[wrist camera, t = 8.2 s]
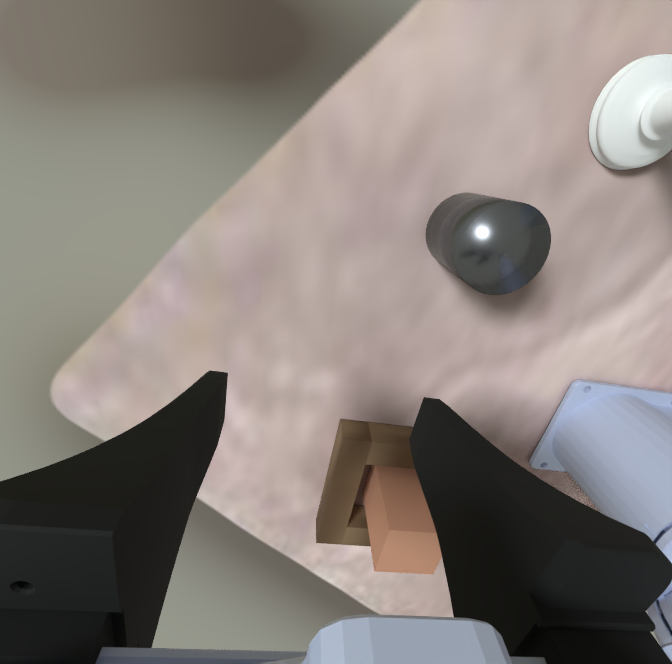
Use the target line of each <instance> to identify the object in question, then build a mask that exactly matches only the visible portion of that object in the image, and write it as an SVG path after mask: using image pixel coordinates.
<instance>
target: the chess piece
mask: <svg viewBox="0 0 672 664" xmlns="http://www.w3.org/2000/svg"><path fill="white" fill-rule="evenodd" d="M589 142H590V146H591V149H592V152H593V154H594V155H595V157H596V158H597V160H598V161H599V162H600V163H602V164H603V165H605V166H606V167H609V168H612V169H616V170H627V169H632V168H639V167H643V166H646V165H649V164H651V163H653V162H655V161H657V160H658V159H660V158H661V157H663V156H664V155H666V154H667V153H668V152H669V151H670V150H671V149H672V54H661V55H652V56H646V57H643V58H640V59H638V60H635V61H633V62H631V63H630V64H628V65H627V66H625V67H624V68H622V69H621V70H620V71H619V72H618V73H617V74H615V75H614V76H613V77H612V79H611V80H610V81H609V82H608V83H607V85H606V86H605V87H604V89H603V90H602V92H601V93H600V95H599V97H598V99H597V101H596V103H595V105H594V108H593V110H592V114H591V117H590V122H589Z"/></svg>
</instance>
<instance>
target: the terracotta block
mask: <svg viewBox="0 0 672 664" xmlns="http://www.w3.org/2000/svg"><path fill="white" fill-rule="evenodd" d="M363 499H364V505H365V512H366V519H367V525H368V532H369V538H370V545H371V551H372V558H373V565H374V571H380V572H399V573H418V574H434V572H435V570H436V567H437V565H438V563H439V561H440V559H441V557H442V554H441V550H440V545H439V541H438V537H437V533H436V530H435V526H434V523H433V520H432V517H431V514H430V511H429V508H428V505H427V502H426V499H425V496H424V493H423V491H422V488H421V485H420V482H419V479H418V476H417V473H416V470H415V469H407V468H396V467H386V466H376V465H371V468H370V471H369V474H368V478H367V481H366V484H365V488H364V491H363Z"/></svg>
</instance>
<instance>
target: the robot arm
mask: <svg viewBox="0 0 672 664" xmlns="http://www.w3.org/2000/svg"><path fill="white" fill-rule="evenodd" d="M227 376H228V373H225V372H217V371H209V372H207V373H206V374H205V375H203V376H202V377H201V378H200V379H199V380H198V381H197V382H195V383H194V384H193V385H192V386H191V387H189V388H188V389H187V390H186V391H185V392H183V393H182V394H181V395H180V396H178V397H177V398H176V399H174V400H173V401H172V402H171V403H169V404H168V405H166V406H165V407H164V408H162V409H161V410H159V411H158V412H156V413H155V414H154V415H152V416H151V417H149V418H148V419H146V420H145V421H143V422H141V423H140V424H138V425H136V426H135V427H133V428H131V429H129V430H128V431H126V432H124V433H122V434H120V435H118V436H116V437H114V438H112V439H110V440H108V441H106V442H104V443H102V444H100V445H98V446H96V447H94V448H91V449H89V450H87V451H85V452H82V453H80V454H78V455H75V456H73V457H70V458H68V459H65V460H62V461H60V462H57V463H55V464H52V465H49V466H47V467H44V468H41V469H38V470H35V471H32V472H29V473H26V474H23V475H20V476H16V477H13V478H10V479H7V480H4V481H1V482H0V664H672V392H665V391H658V390H651V389H644V388H637V387H629V386H622V385H615V384H608V383H601V382H594V381H587V380H576V381H574V382H573V383H572V384H571V386H570V387H569V389H568V391H567V393H566V395H565V397H564V398H563V400H562V402H561V404H560V406H559V407H558V409H557V411H556V413H555V415H554V417H553V418H552V420H551V422H550V424H549V426H548V427H547V429H546V431H545V433H544V435H543V437H542V438H541V440H540V442H539V444H538V446H537V448H536V449H535V451H534V453H533V455H532V457H531V458H530V460H529V464H530V466H531V467H532V468H534V469H543V470H553V471H563V472H568V474H569V475H570V476H571V477H572V478H573V480H574V481H575V482H576V483H577V484H578V486H579V487H580V488H581V489H582V491H583V492H584V493H585V494H586V495H587V497H588V498H589V499H590V500H591V501H592V503H593V504H594V505H595V506H596V508H597V509H598V510H599V511H600V512H601V513H600V512H598V511H596V510H594V509H592V508H590V507H588V506H586V505H584V504H582V503H580V502H578V501H577V500H575V499H573V498H571V497H569V496H567V495H566V494H564V493H562V492H561V491H559V490H557V489H556V488H554V487H552V486H551V485H549V484H547V483H546V482H544V481H542V480H541V479H539V478H538V477H536V476H534V475H533V474H531V473H530V472H529V471H527V470H526V469H524V468H523V467H521V466H520V465H518V464H517V463H516V462H514V461H513V460H512V459H510V458H509V457H507V456H506V455H505V454H504V453H502V452H501V451H500V450H499V449H497V448H496V447H495V446H494V445H492V444H491V443H490V442H489V441H487V440H486V439H485V438H484V437H483V436H481V435H480V434H479V433H478V432H477V431H476V430H475V429H473V428H472V427H471V426H470V425H469V424H468V423H467V422H465V421H464V420H463V419H462V418H461V417H460V416H459V415H458V414H457V413H455V412H454V411H453V410H452V409H451V408H450V407H448V406H447V405H446V404H445V403H444V402H442V401H441V400H440V399H433V398H425V397H424V399H423V402H422V404H421V407H420V410H419V413H418V416H417V419H416V421H415V424H414V427H413V430H412V433H411V436H410V438H409V442H410V448H411V453H412V458H413V463H414V467H415V470H416V473H417V476H418V479H419V482H420V485H421V488H422V491H423V493H424V496H425V499H426V502H427V505H428V508H429V511H430V514H431V517H432V520H433V523H434V526H435V530H436V533H437V537H438V541H439V545H440V550H441V554H442V558H443V563H444V568H445V572H446V577H447V582H448V587H449V592H450V597H451V603H452V609H453V614H454V617H428V616H402V615H375V614H363V615H354V616H346V617H342V618H339V619H337V620H335V621H333V622H330V623H328V624H326V625H324V626H323V627H322V629H321V630H320V631H319V632H318V633H317V635H316V636H315V637H314V638H313V640H312V641H311V642H310V645H309V648H308V652H294V651H293V652H292V651H251V650H210V649H208V650H207V649H205V650H204V649H166V648H151V647H152V643H153V640H154V636H155V632H156V629H157V625H158V621H159V617H160V614H161V610H162V606H163V603H164V599H165V596H166V592H167V588H168V585H169V581H170V578H171V575H172V571H173V568H174V564H175V561H176V557H177V554H178V551H179V547H180V544H181V540H182V537H183V534H184V531H185V527H186V524H187V521H188V517H189V514H190V512H191V509H192V506H193V503H194V501H195V498H196V496H197V494H198V491H199V489H200V486H201V484H202V482H203V479H204V477H205V474H206V472H207V469H208V467H209V465H210V462H211V460H212V457H213V455H214V452H215V450H216V447H217V445H218V441H219V438H220V434H221V430H222V427H223V423H224V417H225V404H226V390H227ZM585 387H586V388H585ZM584 388H585V389H584ZM646 610H647V612H648V614H647V613H646V612H645V611H646ZM650 631H654V633H655V635H656V638H657V640H658V642H659V643H660V645H661V646H660V645H659V644H658V642H657V641H656V640H655V638H654V637H653V635H652V634H651V633H650Z"/></svg>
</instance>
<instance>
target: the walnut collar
mask: <svg viewBox="0 0 672 664" xmlns="http://www.w3.org/2000/svg"><path fill="white" fill-rule="evenodd" d="M412 430H413V427H407V426H398V425H389V424H380V423H372V422H363V421H354V420H345V419H340V423H339V427H338V431H337V435H336V439H335V443H334V447H333V452H332V456H331V460H330V464H329V468H328V472H327V476H326V481H325V485H324V489H323V493H322V497H321V501H320V505H319V509H318V514H317V518H316V543H327V544H342V545H358V546H371V545H370V538H369V532H368V525H367V519H366V512H365V506H358V505H354V502H355V498H356V495H357V492H358V488H359V485H360V482H361V478H362V475H363V472H364V468H365V465H376V466H386V467H396V468H407V469H415V467H414V463H413V458H412V453H411V448H410V442H409V438H410V436H411V433H412Z"/></svg>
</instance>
